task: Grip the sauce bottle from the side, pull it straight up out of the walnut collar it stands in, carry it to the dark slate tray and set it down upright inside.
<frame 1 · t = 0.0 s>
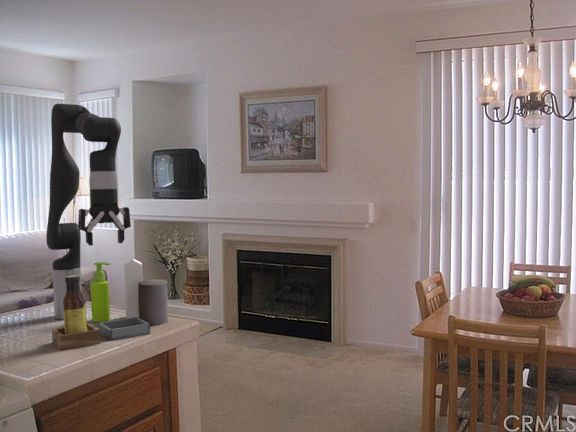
hand: (105, 244, 161), 29 cm above the counter, tool pointing down, fingers open, 8 cm apart
milk: (134, 318, 196), on the counter
pillar candle: (154, 322, 190), on the counter
collar: (76, 342, 165), on the counter
soap dispenser: (102, 320, 194), on the counter
tray: (124, 333, 176), on the counter
sauce bottle: (76, 343, 165), resting in collar
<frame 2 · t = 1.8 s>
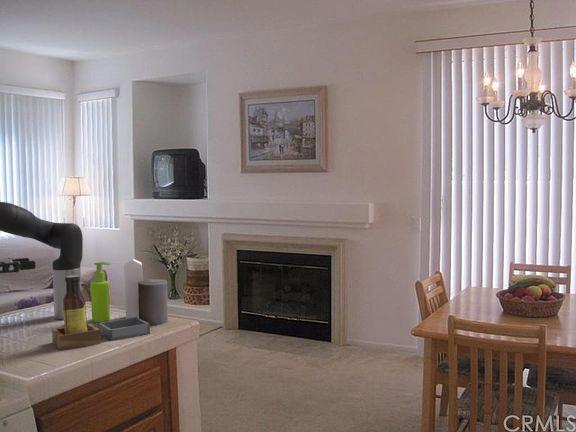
hand: (32, 263, 158), 25 cm above the counter, tool horizontal, fingers open, 8 cm apart
nothing on the counter moved.
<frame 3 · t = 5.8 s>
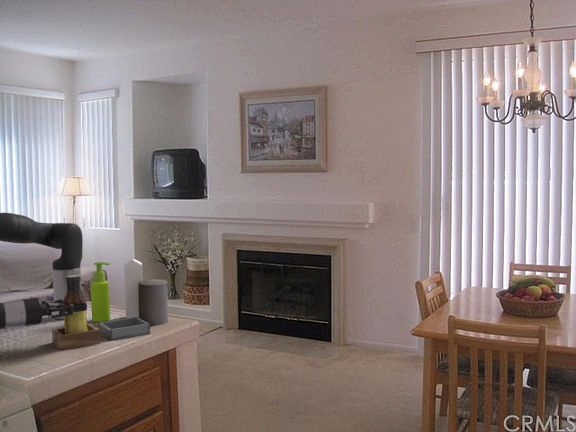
hand: (83, 304, 166), 11 cm above the counter, tool horizontal, fingers closed on sauce bottle, 6 cm apart
sauce bottle: (76, 343, 165), resting in collar, touching gripper
everything else where it was.
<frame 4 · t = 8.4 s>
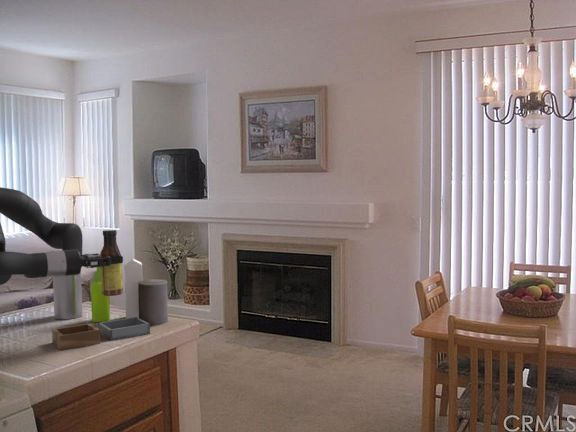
hand: (118, 258, 174), 24 cm above the counter, tool horizontal, fingers closed on sauce bottle, 6 cm apart
sauce bottle: (112, 295, 173), point 12 cm above the counter, touching gripper
everything else where it was.
when the fingers open (13 cm above the counter, at t = 11.3 s): sauce bottle moves 1 cm, resting on tray.
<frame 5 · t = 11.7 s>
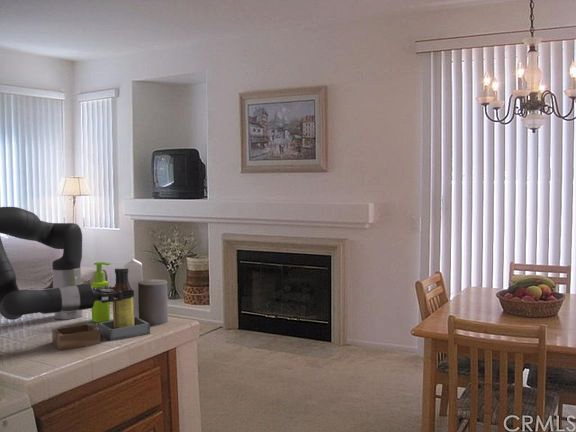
hand: (128, 291, 176), 13 cm above the counter, tool horizontal, fingers open, 8 cm apart
sauce bottle: (123, 331, 175), resting on tray
everything else where it was.
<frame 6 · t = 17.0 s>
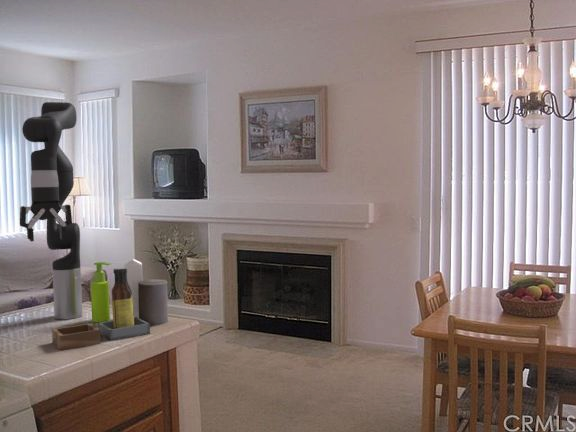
hand: (47, 240, 168), 30 cm above the counter, tool pointing down, fingers open, 8 cm apart
nothing on the counter moved.
at the end: sauce bottle inside the target area on the tray (0.4 cm from its centre), point 0.4 cm above the tray's base; sauce bottle tilted 0°; the gripper is holding nothing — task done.
